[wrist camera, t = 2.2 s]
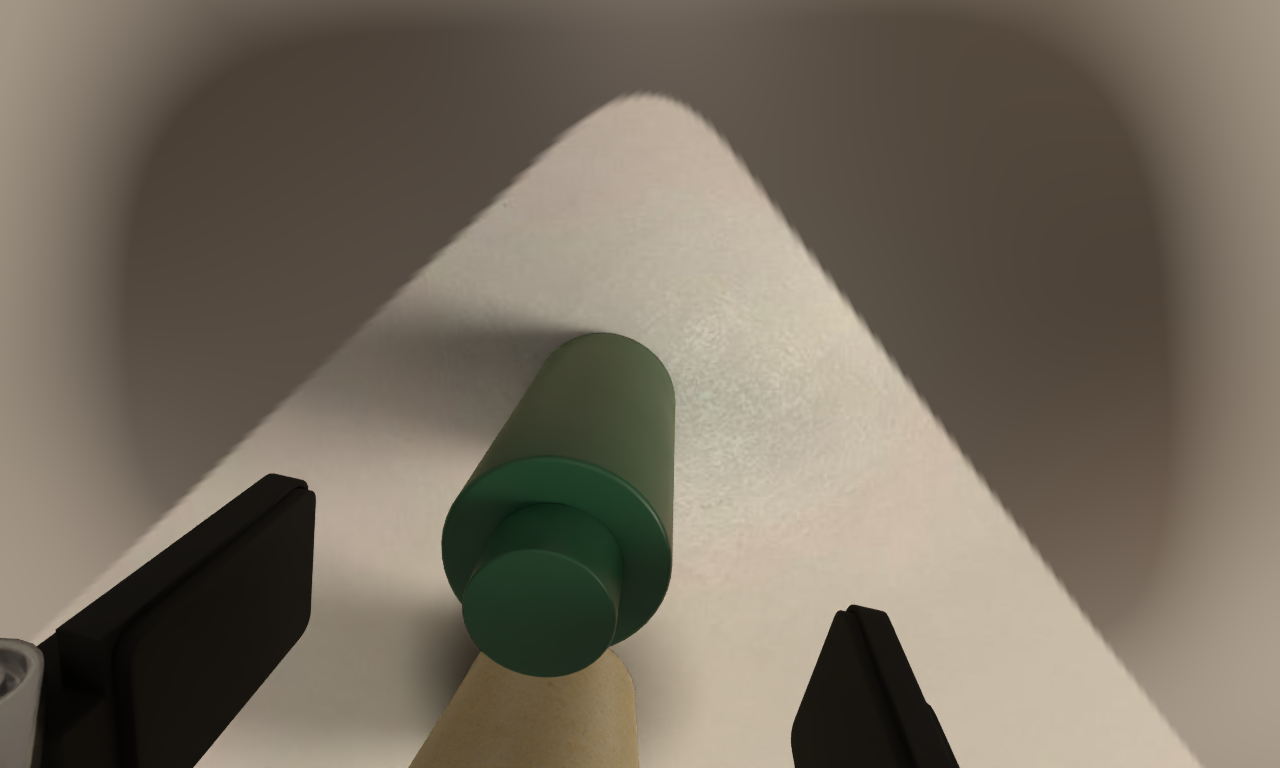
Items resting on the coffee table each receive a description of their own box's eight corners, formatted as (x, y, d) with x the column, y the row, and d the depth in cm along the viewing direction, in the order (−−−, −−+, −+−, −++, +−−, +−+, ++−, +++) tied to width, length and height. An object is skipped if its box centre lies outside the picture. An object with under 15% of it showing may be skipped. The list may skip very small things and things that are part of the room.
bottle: (508, 374, 20) (355, 569, 10) (630, 306, 19) (581, 454, 10) (582, 484, 21) (503, 750, 12) (700, 426, 20) (718, 663, 11)
